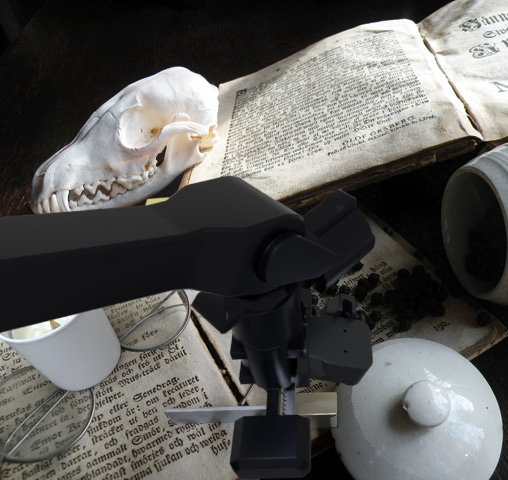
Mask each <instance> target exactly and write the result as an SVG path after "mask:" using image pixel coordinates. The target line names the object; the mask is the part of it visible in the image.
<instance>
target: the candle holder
mask: <svg viewBox="0 0 508 480" xmlns="http://www.w3.org/2000/svg"><path fill="white" fill-rule="evenodd" d="M0 340H2V341H3V342H4V343H5V344H7V345H8V346H9V347H10V348H11V349H12V350H14V351H15V352H16V353H17V354H18V355H19V356H20V357H22V358H23V359H24V360H25V361H26V362H27V363H29V364H30V365H31V366H32V367H33V368H34V369H35V370H37V371H38V372H39V373H40V374H41V375H42V376H44V377H45V378H46V379H47V380H48V381H50V382H51V383H52V384H54V385H55V386H56V387H58V389H59V388H60V389H61V390H64V391H68V392H78V391H85V390H87V389H88V390H89V388H92V387H94V386H96V385H98V384H100V383H102V382H103V381H104V380H105V379H106V378H107V377H109V376H110V375H111V374H112V373H113V371H114V370H115V368H116V367H117V365H118V363H119V361H120V358H121V352H122V347H121V343H120V340H119V338H118V336H117V334H116V331H115V330H114V328H113V325H112V323H111V322H110V319H109V318H108V316H107V314H106V313H105V310H104V308H100V309H96V310H92V311H88V312H84V313H80V314H76V315H72V316H68V317H63V318H59V319H55V320H51V321H47V322H43V323H39V324H35V325H31V326H27V327H23V328H19V329H15V330H11V331H7V332H3V333H0Z"/></svg>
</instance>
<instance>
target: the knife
mask: <svg viewBox="0 0 508 480" xmlns="http://www.w3.org/2000/svg"><path fill="white" fill-rule="evenodd" d="M283 398H284V396H283V393H281V406H280V415H284V414H282V411H285V410H283V409H282V407H283V406H284V405H283V402H285V401H283ZM337 411H338V394H337V391H329V392H328V391H327V392H325V391H324V392H298V393H296V392H295V411H294V415H296V414H298V415H301V416H303V417H306V418H309V419H310V424H311V430H312V429H313V430H314V429H315V430H316V429H330V428H329V421H330V418H331V417H334V416H336V415H337ZM164 412H165V414H166V416H167V417H168V419H169V420H170V422H171V423H172V424H173V425H179V424H181V425H183V424H212V423H214V424H215V423H218V424H219V423H234V422H235V421H236V420H238V419H239V418H241V417H243V416H262V415H266V404H265V405H264V404H263V405H236V406H235V405H234V406H233V405H232V406H203V407H201V406H200V407H175V408H174V407H172V408H171V407H170V408H165V411H164Z"/></svg>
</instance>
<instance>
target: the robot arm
mask: <svg viewBox="0 0 508 480" xmlns="http://www.w3.org/2000/svg"><path fill="white" fill-rule="evenodd" d="M169 197H170V198H169ZM169 197H167V198H168V199H167V200H166V201H162V202H158V203H154V204H150V205H146V204H145V205H130V206H121V207H107V208H94V209H82V210H81V209H80V210H71V211H70V210H69V211H68V210H67V211H57V212H44V213H34V214H33V213H32V214H19V215H7V216H0V333H3V332H7V331H11V330H15V329H19V328H23V327H27V326H31V325H35V324H39V323H43V322H47V321H51V320H55V319H59V318H63V317H68V316H72V315H76V314H80V313H84V312H88V311H92V310H96V309H100V308H103V309H104V308H107V307H112V306H116V305H120V304H124V303H128V302H132V301H136V300H140V299H144V298H148V297H152V296H156V295H161V294H165V293H168V292H174V291H184V290H185V291H188V290H189V291H196V292H197V293H196V295H195V297H194V298H193V300H192V302H191V308H192V309H193V310H194V311H196V312H197V313H198V314H199V315H200V317H202V318H203V319H204V320H205V321H206V322H207V323H208V324H210V326H212V327H213V328H214V329H215V330H216V331H217V332H218V333H219V334H220V335H227V333H229V332H230V331H231V334H232V335H231V342H230V347H229V356H230V358H231V361H240V365H239V374H238V381H239V384H240V385H256V387H258V388H260V389H263V390H267V391H266V403H265V405H266V415H262V416H243V417H241V418H239V419H238V420H236V421H235V422H233V429H232V430H233V431H232V439H231V448H230V456H229V465H230V467H231V470H232V471H233V473H234V474H235V475H236V476H237V478H238V479H239V480H254V479H255V480H256V479H257V480H261V479H262V480H263V479H297V478H300V479H301V478H305V477H306V476H307V475H308V474H309V473H310V472H311V470H312V429H311V424H310V419H309V418H306V417H303V416H301V415H298V414H296V415H294V411H295V393H296V389H305V388H306V389H307V388H308V389H310V388H311V379H312V380H313V379H315V380H318V381H321V382H322V381H324V382H329V383H336V384H344V385H345V386H350V387H353V386H354V387H355V386H356V385H358V384H359V383H360V382H361V380H363V378H364V376H365V375H366V374H367V373H368V371H369V370H370V369H371V367H372V366H373V364H374V355H373V347H372V334H371V329H370V326H369V325H368V324H367V323H366V315H365V314H360V315H359V314H358V312H357V304H356V299H355V296H354V295H352V294H347V293H342V292H341V293H339V294H337V295H335V296H333V298H331V299H329V300H328V301H326V302H325V304H324V306H323V307H322V308H321V309H317V310H316V311H315V315H312V314H313V313H312V311H313V309H312V308H313V305H312V304H313V293H312V289H314V290H317V293H319V294H321V295H322V294H324V293H325V292H327V290H328V289H330V288H331V287H332V286H334V284H335V283H336V282H337V281H339V280H340V279H341V278H342V277H344V276H345V275H346V274H347V273H348V272H349V271H351V269H352V268H354V267H355V266H356V265H357V264H359V263H360V261H362V259H364V258H365V257H366V256H367V255H368V254H370V253H371V252H372V251H373V249H374V248H375V246H376V236H375V233H373V230H372V228H371V226H370V224H369V222H368V220H367V218H366V217H365V216H364V214H362V212H361V211H360V210H359V209H358V208H357V198H356V197H354V196H352V195H350V194H349V193H347V192H345V191H344V190H341V189H339V188H336V189H334V190H333V191H331V192H330V193H329V194H328V195H327V196H326V197H324V199H323V200H322V201H321V202H320V203H318V204H317V205H315V206H314V207H313V208H311V209H310V210H309V211H307V212H306V213H305V214H303V215H300V214H299V213H297V212H296V211H294V210H293V209H291V208H289V207H288V206H286V205H284V204H283V203H281V202H279V201H278V200H277V199H275V198H273V197H272V196H270V195H268V194H267V193H265V192H264V191H262V190H260V189H259V188H257V187H256V186H254V185H252V184H251V183H249V182H247V181H246V180H244V179H242V178H241V177H239V176H235V175H224V176H219V177H215V178H210V179H206V180H202V181H197V182H193V183H189V184H185V185H184V186H182V187H181V188H179V189H178V190H177V191H175V193H173V194H172V195H171V196H169ZM282 391H283V393H282ZM281 394H283V396H284V398H283V401H285V402H283V405H284V406H283V407H282V409H283V410H285V411H282V414H284V415H280V406H281Z"/></svg>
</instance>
